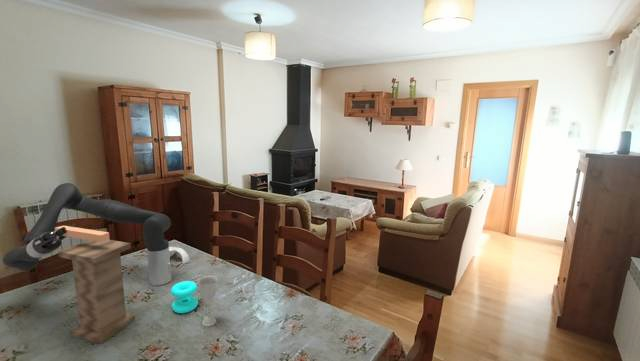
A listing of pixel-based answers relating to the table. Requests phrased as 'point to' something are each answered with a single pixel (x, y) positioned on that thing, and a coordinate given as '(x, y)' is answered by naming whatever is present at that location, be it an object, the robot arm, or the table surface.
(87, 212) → the robot arm
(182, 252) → the white arch
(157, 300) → the table surface
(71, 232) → the bar
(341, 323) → the table surface
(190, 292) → the cyan spool
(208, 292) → the chalice
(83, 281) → the stand
